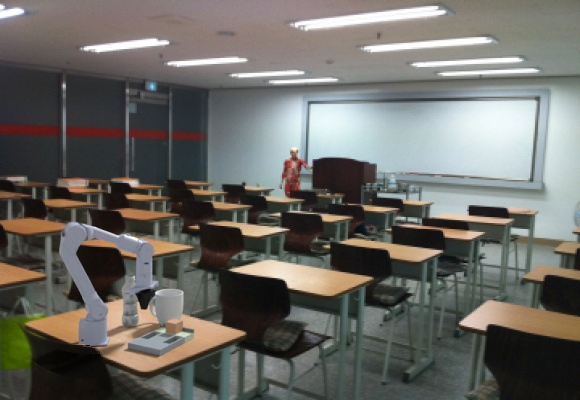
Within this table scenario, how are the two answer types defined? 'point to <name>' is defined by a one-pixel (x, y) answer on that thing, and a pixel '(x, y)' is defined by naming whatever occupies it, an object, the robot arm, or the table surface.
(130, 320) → the plastic bottle
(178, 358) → the table surface
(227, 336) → the table surface
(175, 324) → the block
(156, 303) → the mug
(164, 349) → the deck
